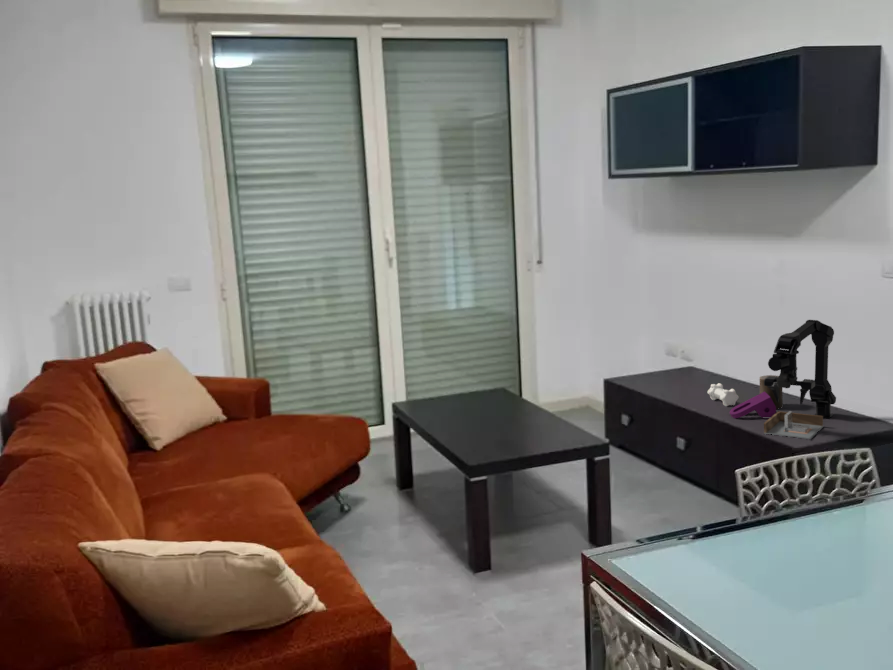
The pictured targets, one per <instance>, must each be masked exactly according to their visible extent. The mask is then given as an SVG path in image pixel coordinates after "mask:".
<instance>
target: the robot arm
mask: <svg viewBox="0 0 893 670" xmlns="http://www.w3.org/2000/svg"><path fill="white" fill-rule="evenodd" d="M810 335H811V341H812V342H813V344H814V346H815V355H814V356H815V357H814V359H815V362H814V379H809V378H807V379H806V378H804V379H802V380H798V376H797V375H798V373H797V371H798V367H797V354H799V353H800V351H799V350H798V349H799V348H800V347H801V346H802V341H803V340H805V339H806V338H808V337H809V336H810ZM834 335H835V330H834V328H833V327H832V325H831V326H830V325H827V324H825V323H823V322H821V321H819V320H817V319H807V320H805V323H803V324H802V325H800V326H799V327H797V328H796V329H795V330H793V331H792V332H789V333H784V334H781V335H780V336H779V337H778V339H777V342H776V345H775V348H774V350H773V353H772V357H770V358H769V359H768V362H767V365H768V367H769V369H770V370H771V371H773V372H777V371H780V374H779V375H778V376H779V377H773V376H769V377H767V378H766V379H765V380H764V385H765V386H767V387H768V388H770V389H771V390H772V391H773V393H774V396H775V398H776V401H777V402H779V388H781V387H782V389H783V388H784V389H790V388H791V386H797V387H800V389H799V391H800V395H799V397H800V398H799V405H802V404H803V402H804V400H805V398H806V395H807V393H808V394H809V398H810V401H811V403H815V412H816V413H815V414H814V415H818V416H823V419H831V418H832V417H833V416H834V413H831V407H832V406H831V405H835V403H836V402H837V396H836V395H835V394H834V393H833V391H832V385H831V383H830V381H829V379H828V374H829V373H828V372H829V371H828V370H829V368H828V367H829V346H830V345H831V344H832V342H833V340H834Z"/></svg>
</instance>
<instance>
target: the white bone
mask: <svg viewBox="0 0 893 670" xmlns="http://www.w3.org/2000/svg"><path fill="white" fill-rule="evenodd" d="M707 394H708V395H709V397H710V399H711V400H712V401H715V400H720V401H722V405H723V406H724V407H728V406H732V405H733V406H736V402H737V400H738V399H739V398H740V397H739V395H738V394H737V393H736V390H735V389H734V388H730V389H724V385H723V384H722V383H719V382H718V383H717V384H715V383H711V384H710V387H709V389H708V390H707Z"/></svg>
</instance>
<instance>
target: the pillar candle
mask: <svg viewBox="0 0 893 670" xmlns="http://www.w3.org/2000/svg"><path fill="white" fill-rule="evenodd" d="M769 376H773V377H779V375H776V374H775V375H774V374H773V375H772V374H770V375H760V376H759V394H761V393H762V392H764V391H765V392H766V393H767V394H768V395H769V396H770V397H771V399H772V401H773V403H774V405H775V406H776V410H779V409H778V408H780V409H782V408H783V407H784V405H783V403H784V402H783V400H784V399H783V388H782V387H781V388H779V402H777V401H776V398H775V396H774V393H773V391H772V390H771V389H770V388H768V387H767V386H765V385H764V380H765V379H766V378H767V377H769ZM781 407H782V408H781Z"/></svg>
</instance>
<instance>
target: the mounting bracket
mask: <svg viewBox="0 0 893 670" xmlns="http://www.w3.org/2000/svg"><path fill="white" fill-rule="evenodd" d="M754 411H755V412H756V413H757V414H758V416H759V417H760V418H762V419H764V418H763V417H772V416H773V415H774V414H776V413H777V409H776V406H775V405H774V403H773V401H772V399H771V397H770V396H769V395H768V394H767V393H766V392H765V391H764V392H762V393H761V394H760V393H759V394H757V395H755V396H752V397H751V398H749V399H747V400H745V401H743V402H741V403H739V404H737V405H734V406H733V407H732V408H731V409H730V410H729V416H731V418H732V417H733V418H732V419H740V418H741V417H744V416H746V415H748V414H750V413H752V412H754Z"/></svg>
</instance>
